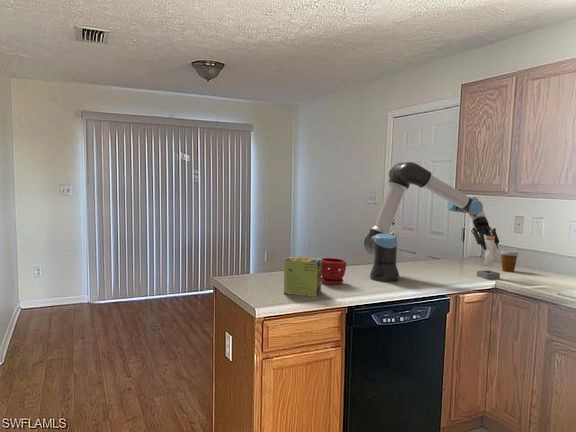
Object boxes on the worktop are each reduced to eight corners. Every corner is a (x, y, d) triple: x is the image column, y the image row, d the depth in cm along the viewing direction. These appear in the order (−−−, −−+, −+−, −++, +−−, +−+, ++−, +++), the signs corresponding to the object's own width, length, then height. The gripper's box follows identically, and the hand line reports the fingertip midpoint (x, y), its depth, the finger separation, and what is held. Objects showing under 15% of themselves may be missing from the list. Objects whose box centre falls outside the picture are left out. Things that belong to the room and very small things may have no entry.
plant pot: (335, 287, 213) (336, 263, 212) (314, 283, 222) (314, 259, 221) (350, 283, 223) (351, 259, 222) (329, 279, 232) (329, 256, 231)
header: (486, 281, 233) (487, 273, 233) (476, 277, 241) (477, 270, 241) (499, 280, 235) (500, 273, 235) (489, 277, 243) (489, 270, 243)
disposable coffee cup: (501, 272, 259) (502, 251, 258) (497, 268, 268) (498, 249, 267) (519, 273, 257) (520, 252, 256) (514, 270, 266) (516, 250, 265)
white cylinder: (487, 266, 236) (489, 236, 234) (483, 264, 240) (484, 235, 238) (494, 266, 237) (496, 236, 235) (489, 264, 240) (491, 235, 239)
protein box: (316, 297, 195) (317, 262, 194) (283, 294, 199) (284, 260, 198) (321, 291, 205) (322, 258, 204) (289, 288, 209) (290, 256, 208)
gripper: (491, 225, 252) (505, 258, 237) (462, 224, 251) (474, 258, 236) (496, 216, 247) (511, 250, 231) (467, 215, 245) (480, 249, 230)
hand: (493, 254), depth 234 cm, fingers closed on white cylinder, 4 cm apart
